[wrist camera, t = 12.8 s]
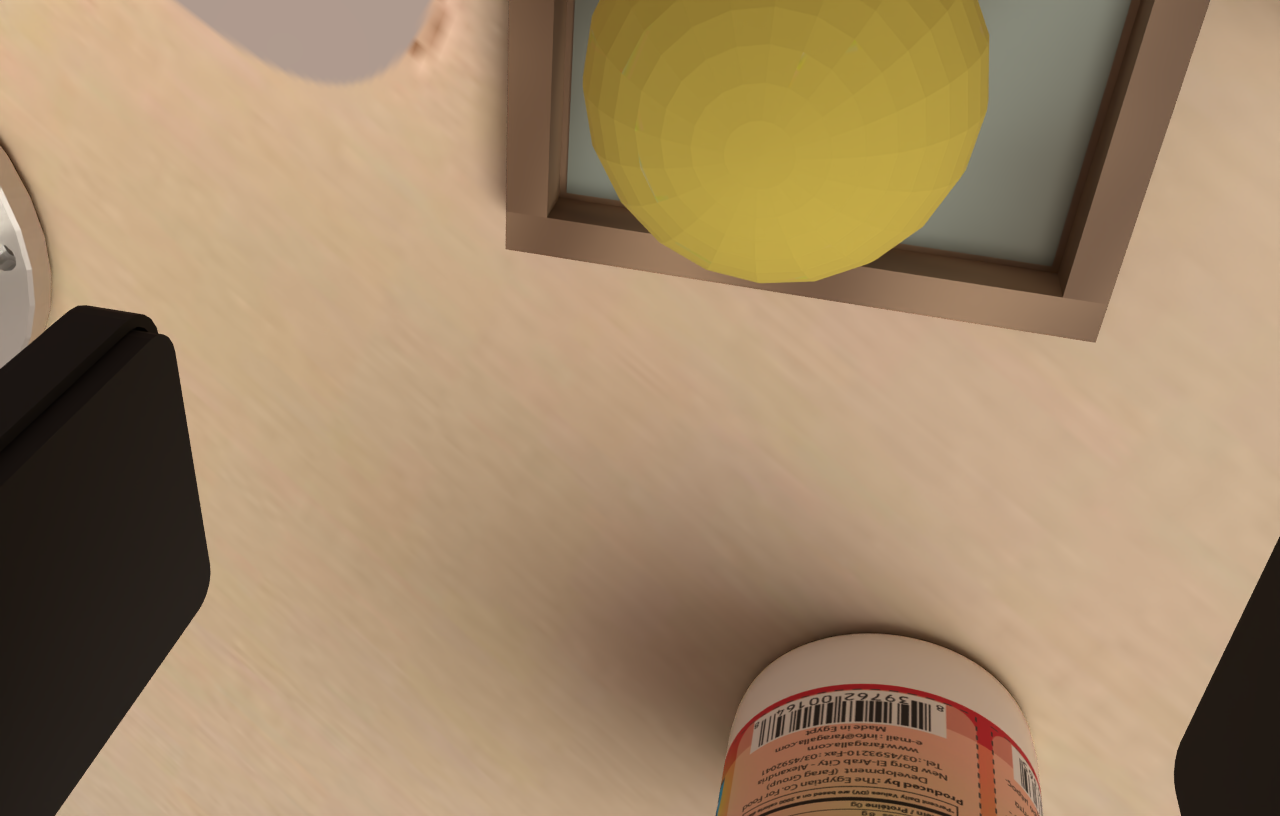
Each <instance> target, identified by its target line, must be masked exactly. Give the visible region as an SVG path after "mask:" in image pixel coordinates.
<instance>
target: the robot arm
mask: <svg viewBox="0 0 1280 816" xmlns="http://www.w3.org/2000/svg"><path fill="white" fill-rule="evenodd" d="M50 308H51V269H50V264H49V258H48V253H47V247H46V241H45V236H44V234H43V231H42V228H41V225H40V223H39V220H38V217H37V214H36V212H35V209H34V206H33V203H32V201H31V198H30V196H29V194H28V192H27V190H26V188H25V187H24V185H23V183H22V181H21V179H20V177H19V176H18V174H17V172H16V170H15V168H14V166H13V164H12V163H11V161H10V159H9V157H8V155H7V154H6V153H5V151H4V150H3V149H2V147H1V146H0V816H55V815H56V813H57V812H58V810H59V809H60V808H61V806H62V805H63V803H64V802H65V800H66V799H67V798H68V796H69V795H70V793H71V792H72V790H73V789H74V788H75V786H76V785H77V783H78V782H79V780H80V779H81V778H82V776H83V775H84V773H85V772H86V770H87V769H88V768H89V766H90V765H91V763H92V762H93V760H94V759H95V758H96V756H97V755H98V753H99V752H100V750H101V749H102V748H103V746H104V745H105V743H106V742H107V740H108V739H109V738H110V736H111V735H112V733H113V732H114V730H115V729H116V728H117V726H118V725H119V723H120V722H121V720H122V719H123V718H124V716H125V715H126V713H127V712H128V710H129V709H130V707H131V706H132V705H133V703H134V702H135V700H136V699H137V697H138V696H139V695H140V693H141V692H142V690H143V689H144V687H145V686H146V685H147V683H148V682H149V680H150V679H151V677H152V676H153V675H154V673H155V672H156V670H157V669H158V667H159V666H160V665H161V663H162V662H163V660H164V659H165V657H166V656H167V655H168V653H169V652H170V650H171V649H172V647H173V646H174V645H175V643H176V642H177V640H178V639H179V637H180V636H181V635H182V633H183V632H184V630H185V629H186V627H187V626H188V625H189V623H190V622H191V620H192V619H193V617H194V616H195V615H196V613H197V612H198V610H199V609H200V607H201V605H202V603H203V602H204V599H205V597H206V594H207V591H208V587H209V582H210V562H209V556H208V550H207V544H206V537H205V531H204V525H203V519H202V513H201V507H200V501H199V495H198V488H197V482H196V476H195V470H194V464H193V458H192V452H191V446H190V439H189V433H188V427H187V421H186V415H185V409H184V403H183V397H182V390H181V384H180V378H179V372H178V366H177V360H176V354H175V350H174V346H173V343H172V342H171V340H170V339H169V337H167V336H165V335H163V334H158V331H157V327H156V326H155V324H154V323H153V321H152V320H151V319H150V318H149V317H147V316H145V315H143V314H137V313H131V312H124V311H118V310H112V309H106V308H100V307H93V306H87V305H84V306H77V307H75V308H73V309H71V310H69V311H68V312H67V313H66V314H65V315H63V316H62V317H61V318H60V319H59V320H57V321H56V322H55V323H54V324H53V325H52V326H50V327H49V328H48V329H47V330H46V331H44V330H45V327H46V323H47V320H48V316H49V312H50ZM1174 784H1175V791H1176V796H1177V800H1178V804H1179V808H1180V813H1181V816H1280V537H1279V539H1278V541H1277V543H1276V545H1275V548H1274V550H1273V552H1272V554H1271V556H1270V558H1269V560H1268V562H1267V564H1266V566H1265V568H1264V570H1263V572H1262V574H1261V577H1260V579H1259V581H1258V583H1257V585H1256V587H1255V589H1254V591H1253V593H1252V595H1251V597H1250V599H1249V601H1248V603H1247V606H1246V608H1245V610H1244V612H1243V614H1242V616H1241V618H1240V620H1239V622H1238V624H1237V626H1236V628H1235V630H1234V632H1233V635H1232V637H1231V639H1230V641H1229V643H1228V645H1227V647H1226V649H1225V651H1224V653H1223V655H1222V657H1221V659H1220V661H1219V664H1218V666H1217V668H1216V670H1215V672H1214V674H1213V676H1212V678H1211V680H1210V682H1209V684H1208V686H1207V688H1206V690H1205V693H1204V695H1203V697H1202V699H1201V701H1200V703H1199V705H1198V707H1197V709H1196V711H1195V713H1194V715H1193V717H1192V719H1191V722H1190V724H1189V726H1188V728H1187V730H1186V732H1185V734H1184V736H1183V738H1182V740H1181V742H1180V745H1179V748H1178V750H1177V755H1176V759H1175V768H1174Z"/></svg>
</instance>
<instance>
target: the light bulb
mask: <svg viewBox="0 0 1280 816" xmlns="http://www.w3.org/2000/svg"><path fill="white" fill-rule="evenodd" d="M583 92H584V98H585V104H586V110H587V116H588V122H589V128H590V134H591V140H592V146H593V148H594V150H595V152H596V154H597V156H598V158H599V160H600V162H601V164H602V166H603V167H604V169H605V171H606V173H607V175H608V177H609V179H610V181H611V183H612V185H613V187H614V189H615V191H616V193H617V195H618V197H619V199H620V201H621V203H622V204H623V205H624V206H625V207H626V208H627V209H628V210H629V211H630V212H631V213H632V214H633V215H634V216H635V217H636V218H637V219H638V221H639V222H640V223H641V224H642V225H643V226H644V227H645V228H646V229H647V230H648V231H649V232H650V233H651V234H652V235H653V236H654V237H655V238H656V240H657V241H658V242H659V243H661V244H663V245H665V246H666V247H668V248H670V249H671V250H673V251H675V252H677V253H678V254H680V255H682V256H683V257H685V258H687V259H689V260H690V261H692V262H694V263H695V264H697V265H699V266H701V267H702V268H704V269H706V270H709V271H713V272H717V273H721V274H725V275H729V276H733V277H737V278H741V279H745V280H749V281H753V282H757V283H782V282H812V281H817V280H820V279H823V278H826V277H830V276H833V275H836V274H839V273H842V272H845V271H848V270H851V269H854V268H857V267H860V266H863V265H866V264H868V263H871V262H873V261H875V260H876V259H878V258H879V257H881V256H882V255H883V254H885V253H886V252H888V251H889V250H891V249H892V248H893V247H895V246H896V245H898V244H899V243H901V242H902V241H903V240H905V239H906V238H908V237H909V236H910V235H912V234H913V233H915V232H916V231H918V230H919V229H920V228H922V227H923V226H924V225H925V223H926V222H927V221H928V220H929V218H930V217H931V216H932V214H933V213H934V212H935V210H936V209H937V208H938V207H939V205H940V204H941V203H942V201H943V200H944V199H945V197H946V196H947V195H948V193H949V192H950V191H951V190H952V188H953V187H954V186H955V184H956V183H957V182H958V180H959V179H960V178H961V176H962V175H963V173H964V172H965V171H966V169H967V166H968V163H969V160H970V157H971V154H972V151H973V149H974V146H975V143H976V140H977V137H978V134H979V132H980V129H981V126H982V123H983V120H984V117H985V115H986V112H987V107H988V100H989V32H988V29H987V26H986V23H985V20H984V17H983V14H982V11H981V8H980V5H979V2H978V0H600V1H599V3H598V5H597V7H596V9H595V11H594V13H593V15H592V19H591V25H590V32H589V39H588V45H587V52H586V59H585V66H584V72H583Z"/></svg>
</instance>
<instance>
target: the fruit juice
mask: <svg viewBox="0 0 1280 816" xmlns="http://www.w3.org/2000/svg"><path fill="white" fill-rule="evenodd" d="M716 816H1043V808H1042V798H1041V788H1040V778H1039V768H1038V759H1037V754H1036V750H1035V747H1034V743H1033V739H1032V735H1031V732H1030V729H1029V726H1028V724H1027V721H1026V719H1025V717H1024V715H1023V713H1022V711H1021V710H1020V708H1019V706H1018V704H1017V703H1016V701H1015V700H1014V698H1013V697H1012V696H1011V694H1010V693H1009V692H1008V691H1007V690H1006V689H1005V687H1004V686H1003V685H1002V684H1001V683H1000V682H999V681H998V680H997V679H996V678H995V677H993V676H992V675H991V674H990V673H989V672H987V671H986V670H985V669H983V668H982V667H981V666H979V665H978V664H976V663H975V662H973V661H971V660H970V659H968V658H966V657H964V656H962V655H960V654H958V653H956V652H954V651H952V650H949V649H947V648H944V647H942V646H939V645H936V644H933V643H930V642H927V641H923V640H919V639H915V638H910V637H904V636H898V635H890V634H872V633H865V634H848V635H840V636H834V637H829V638H825V639H821V640H817V641H814V642H811V643H808V644H805V645H802V646H800V647H798V648H795V649H793V650H791V651H789V652H787V653H786V654H784V655H782V656H781V657H779V658H778V659H776V660H775V661H773V662H772V663H771V664H770V665H768V666H767V667H766V668H765V669H764V670H763V671H762V672H761V673H760V674H759V675H758V676H757V677H756V678H755V680H754V681H753V682H752V684H751V685H750V686H749V688H748V690H747V691H746V693H745V695H744V696H743V698H742V700H741V702H740V704H739V707H738V710H737V712H736V715H735V718H734V721H733V724H732V727H731V731H730V736H729V742H728V747H727V753H726V759H725V765H724V771H723V776H722V782H721V788H720V794H719V800H718V806H717V811H716Z"/></svg>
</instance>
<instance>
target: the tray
mask: <svg viewBox="0 0 1280 816" xmlns="http://www.w3.org/2000/svg"><path fill="white" fill-rule="evenodd" d="M599 1H600V0H509V31H508V108H507V185H506V249H508V250H515V251H521V252H527V253H534V254H540V255H546V256H552V257H559V258H565V259H571V260H578V261H584V262H590V263H597V264H603V265H609V266H616V267H622V268H628V269H634V270H641V271H647V272H653V273H660V274H666V275H672V276H679V277H685V278H691V279H698V280H704V281H710V282H716V283H723V284H729V285H735V286H742V287H748V288H754V289H761V290H767V291H773V292H780V293H786V294H792V295H799V296H805V297H811V298H817V299H824V300H830V301H836V302H843V303H849V304H855V305H862V306H868V307H874V308H881V309H887V310H893V311H899V312H906V313H912V314H918V315H925V316H931V317H937V318H944V319H950V320H956V321H963V322H969V323H975V324H981V325H988V326H994V327H1000V328H1007V329H1013V330H1019V331H1026V332H1032V333H1038V334H1045V335H1051V336H1057V337H1063V338H1070V339H1076V340H1082V341H1089V342H1096V339H1097V336H1098V333H1099V330H1100V327H1101V324H1102V321H1103V318H1104V316H1105V313H1106V310H1107V307H1108V304H1109V301H1110V298H1111V295H1112V292H1113V289H1114V286H1115V283H1116V280H1117V277H1118V274H1119V271H1120V268H1121V265H1122V262H1123V259H1124V256H1125V253H1126V250H1127V247H1128V244H1129V241H1130V238H1131V235H1132V232H1133V229H1134V226H1135V223H1136V220H1137V217H1138V214H1139V211H1140V208H1141V205H1142V202H1143V199H1144V196H1145V193H1146V190H1147V187H1148V184H1149V181H1150V178H1151V175H1152V172H1153V169H1154V166H1155V163H1156V160H1157V157H1158V154H1159V151H1160V148H1161V145H1162V142H1163V139H1164V136H1165V133H1166V130H1167V128H1168V125H1169V122H1170V119H1171V116H1172V113H1173V110H1174V107H1175V104H1176V101H1177V98H1178V95H1179V92H1180V89H1181V86H1182V83H1183V80H1184V77H1185V74H1186V71H1187V68H1188V65H1189V62H1190V59H1191V56H1192V53H1193V50H1194V47H1195V44H1196V41H1197V38H1198V35H1199V32H1200V29H1201V26H1202V23H1203V20H1204V17H1205V14H1206V11H1207V8H1208V5H1209V2H1210V0H978V2H979V5H980V8H981V11H982V14H983V17H984V20H985V23H986V26H987V29H988V32H989V100H988V107H987V112H986V115H985V117H984V120H983V123H982V126H981V129H980V132H979V134H978V137H977V140H976V143H975V146H974V149H973V151H972V154H971V157H970V160H969V163H968V166H967V169H966V171H965V172H964V173H963V175H962V176H961V178H960V179H959V180H958V182H957V183H956V184H955V186H954V187H953V188H952V190H951V191H950V192H949V193H948V195H947V196H946V197H945V199H944V200H943V201H942V203H941V204H940V205H939V207H938V208H937V209H936V210H935V212H934V213H933V214H932V216H931V217H930V218H929V220H928V221H927V222H926V223H925V225H924V226H923V227H922V228H920V229H919V230H918V231H916V232H915V233H913V234H912V235H910V236H909V237H908V238H906V239H905V240H903V241H902V242H901V243H899V244H898V245H896V246H895V247H893V248H892V249H891V250H889V251H888V252H886V253H885V254H883V255H882V256H881V257H879V258H878V259H876V260H875V261H873V262H871V263H868V264H866V265H863V266H860V267H857V268H854V269H851V270H848V271H845V272H842V273H839V274H836V275H833V276H830V277H826V278H823V279H820V280H817V281H812V282H782V283H757V282H753V281H749V280H745V279H741V278H737V277H733V276H729V275H725V274H721V273H717V272H713V271H709V270H706V269H704V268H702V267H701V266H699V265H697V264H695V263H694V262H692V261H690V260H689V259H687V258H685V257H683V256H682V255H680V254H678V253H677V252H675V251H673V250H671V249H670V248H668V247H666V246H665V245H663V244H661V243H659V242H658V241H657V240H656V238H655V237H654V236H653V235H652V234H651V233H650V232H649V231H648V230H647V229H646V228H645V227H644V226H643V225H642V224H641V223H640V222H639V221H638V219H637V218H636V217H635V216H634V215H633V214H632V213H631V212H630V211H629V210H628V209H627V208H626V207H625V206H624V205H623V204H622V203H621V201H620V199H619V197H618V195H617V193H616V191H615V189H614V187H613V185H612V183H611V181H610V179H609V177H608V175H607V173H606V171H605V169H604V167H603V166H602V164H601V162H600V160H599V158H598V156H597V154H596V152H595V150H594V148H593V146H592V140H591V134H590V128H589V122H588V116H587V110H586V104H585V98H584V92H583V72H584V66H585V59H586V52H587V45H588V39H589V32H590V25H591V19H592V15H593V13H594V11H595V9H596V7H597V5H598V3H599Z"/></svg>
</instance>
